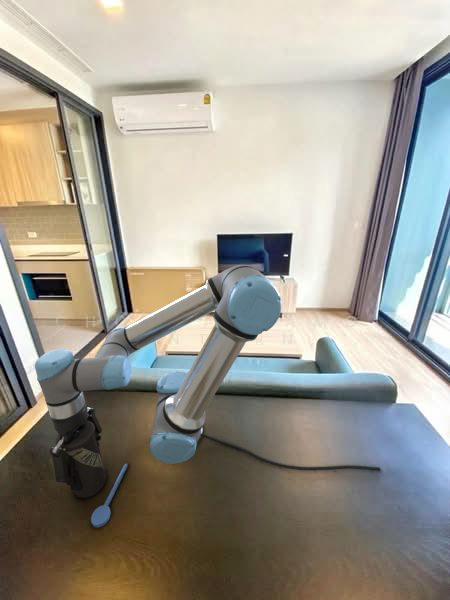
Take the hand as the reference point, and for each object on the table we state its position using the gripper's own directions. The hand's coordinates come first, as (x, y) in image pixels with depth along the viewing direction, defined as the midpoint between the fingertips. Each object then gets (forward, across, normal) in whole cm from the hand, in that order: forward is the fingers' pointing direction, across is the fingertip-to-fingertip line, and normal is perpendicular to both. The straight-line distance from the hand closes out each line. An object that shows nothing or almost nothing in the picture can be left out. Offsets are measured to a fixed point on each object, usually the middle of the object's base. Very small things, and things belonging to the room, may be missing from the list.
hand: (87, 472), depth 70 cm
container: (+4, 0, 0) cm, 4 cm away
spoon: (+4, +2, +8) cm, 9 cm away
